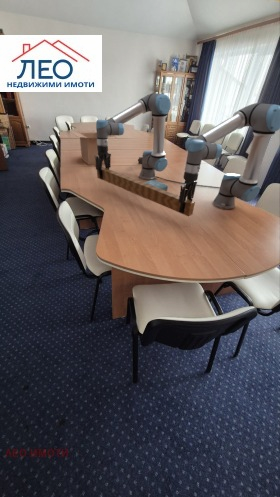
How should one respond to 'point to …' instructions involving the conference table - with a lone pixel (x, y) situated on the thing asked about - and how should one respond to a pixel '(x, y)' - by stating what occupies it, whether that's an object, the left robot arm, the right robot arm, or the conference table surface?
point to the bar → (146, 191)
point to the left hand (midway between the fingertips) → (103, 178)
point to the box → (88, 146)
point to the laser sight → (140, 160)
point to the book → (157, 184)
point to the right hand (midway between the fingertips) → (183, 211)
